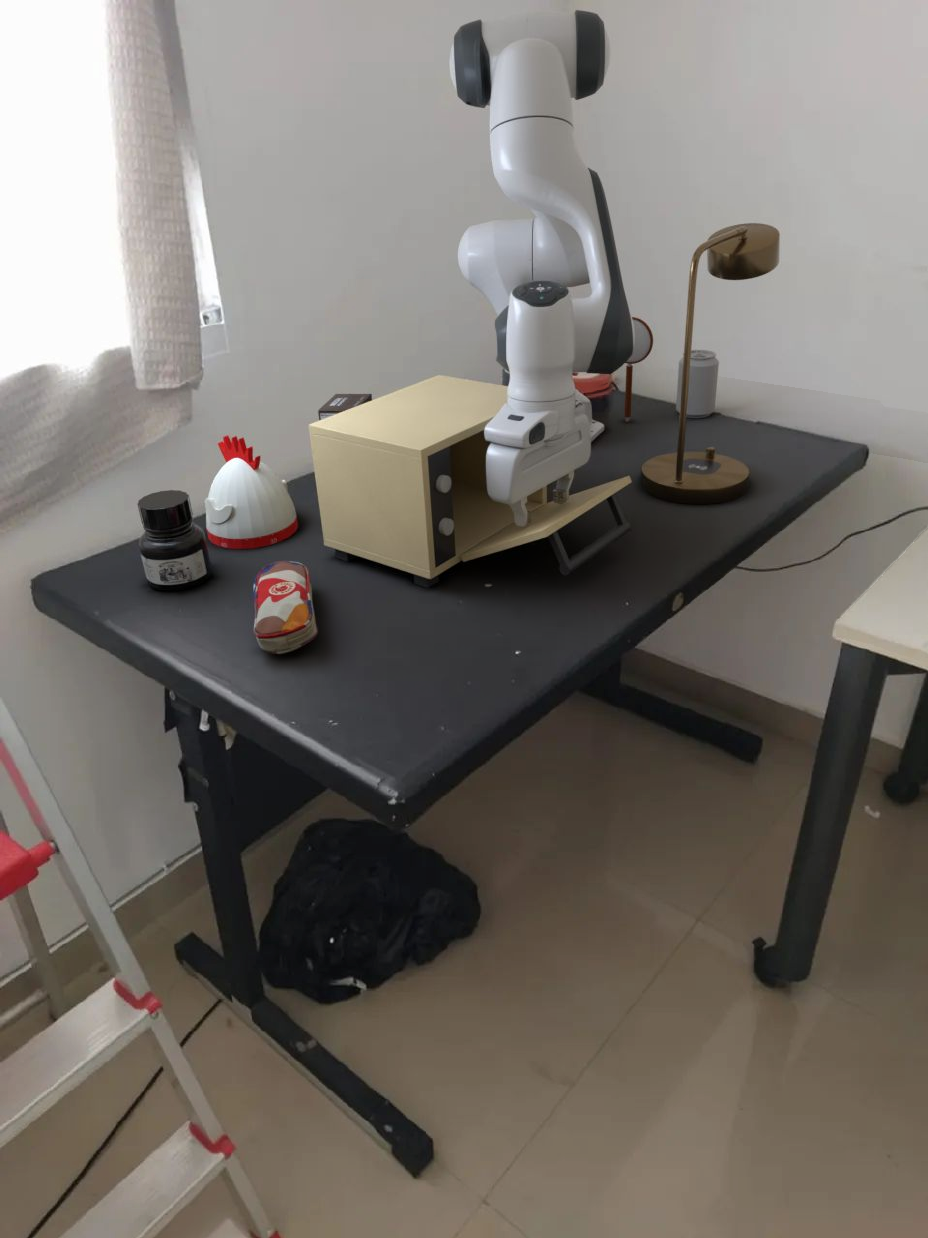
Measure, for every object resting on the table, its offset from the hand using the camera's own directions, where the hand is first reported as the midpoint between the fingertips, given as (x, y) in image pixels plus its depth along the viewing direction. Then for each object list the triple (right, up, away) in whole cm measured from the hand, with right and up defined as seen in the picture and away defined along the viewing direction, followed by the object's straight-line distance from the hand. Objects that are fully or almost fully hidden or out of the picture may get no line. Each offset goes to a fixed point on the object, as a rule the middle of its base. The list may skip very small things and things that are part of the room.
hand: (542, 512), depth 130 cm
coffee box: (-29, +6, +28) cm, 41 cm away
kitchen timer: (-44, -1, +17) cm, 47 cm away
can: (+35, +26, +57) cm, 72 cm away
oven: (-14, -3, +11) cm, 18 cm away
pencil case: (-34, -15, -8) cm, 38 cm away
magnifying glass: (+21, +24, +55) cm, 63 cm away
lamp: (+30, +9, +28) cm, 42 cm away
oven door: (-3, -5, +6) cm, 8 cm away
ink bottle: (-51, -9, +4) cm, 52 cm away
